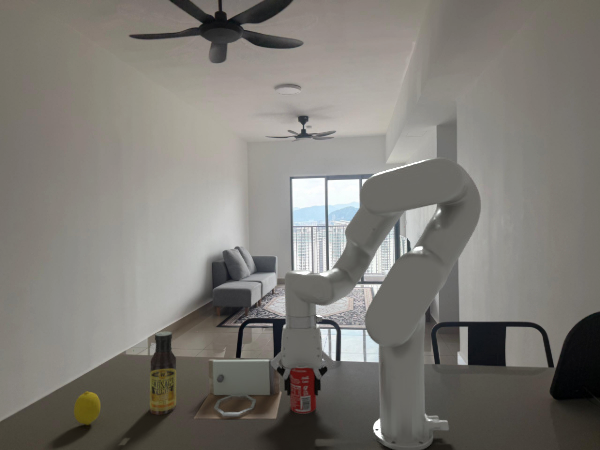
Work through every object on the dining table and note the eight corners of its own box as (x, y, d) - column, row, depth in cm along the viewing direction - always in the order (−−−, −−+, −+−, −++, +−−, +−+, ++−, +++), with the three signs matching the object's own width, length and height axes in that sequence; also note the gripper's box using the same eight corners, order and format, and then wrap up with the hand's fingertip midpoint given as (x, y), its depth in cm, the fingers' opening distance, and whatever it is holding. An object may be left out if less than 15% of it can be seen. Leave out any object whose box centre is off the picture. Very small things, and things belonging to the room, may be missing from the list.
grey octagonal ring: (258, 397, 102) (257, 394, 102) (251, 417, 92) (251, 413, 92) (221, 398, 102) (220, 395, 102) (210, 417, 93) (210, 413, 93)
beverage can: (316, 405, 99) (315, 358, 99) (315, 417, 93) (314, 368, 93) (292, 404, 100) (291, 358, 100) (289, 417, 94) (287, 367, 93)
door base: (281, 395, 105) (280, 358, 105) (276, 422, 91) (274, 380, 91) (210, 395, 106) (209, 359, 106) (193, 422, 92) (192, 380, 92)
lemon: (95, 416, 97) (93, 384, 96) (105, 423, 93) (103, 390, 93) (70, 426, 92) (69, 392, 92) (80, 434, 89) (79, 399, 89)
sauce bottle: (148, 420, 94) (145, 338, 93) (151, 408, 100) (148, 331, 99) (177, 416, 96) (174, 335, 95) (178, 404, 102) (175, 328, 101)
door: (274, 392, 104) (274, 359, 104) (273, 397, 102) (272, 362, 101) (215, 393, 105) (213, 359, 105) (212, 397, 102) (211, 363, 102)
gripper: (335, 316, 99) (337, 386, 100) (268, 317, 100) (270, 386, 101) (336, 324, 92) (338, 400, 92) (263, 325, 93) (265, 400, 93)
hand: (302, 392), depth 96 cm, fingers closed on beverage can, 6 cm apart
